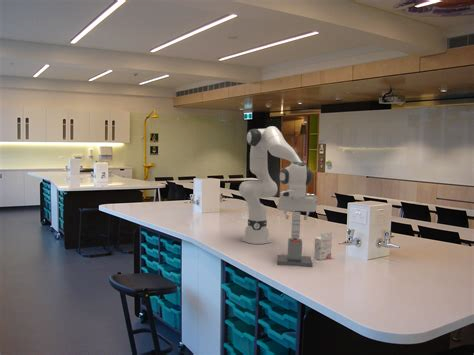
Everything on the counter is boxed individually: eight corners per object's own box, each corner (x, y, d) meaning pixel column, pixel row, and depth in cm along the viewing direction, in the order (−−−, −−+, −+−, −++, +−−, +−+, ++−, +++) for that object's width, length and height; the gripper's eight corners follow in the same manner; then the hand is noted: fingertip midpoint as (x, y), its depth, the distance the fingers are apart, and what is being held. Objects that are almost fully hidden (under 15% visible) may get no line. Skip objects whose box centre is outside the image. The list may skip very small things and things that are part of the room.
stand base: (277, 258, 233) (278, 234, 232) (310, 260, 231) (311, 236, 230) (277, 264, 220) (278, 240, 219) (312, 266, 218) (313, 242, 217)
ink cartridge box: (324, 256, 240) (326, 230, 239) (331, 258, 236) (332, 232, 235) (313, 258, 236) (314, 231, 235) (319, 260, 232) (321, 233, 230)
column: (290, 244, 227) (292, 211, 226) (298, 245, 227) (300, 211, 225) (290, 246, 223) (292, 212, 221) (299, 247, 223) (300, 213, 221)
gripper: (316, 193, 225) (315, 219, 226) (277, 191, 227) (276, 217, 228) (318, 194, 218) (316, 221, 220) (278, 193, 220) (276, 219, 221)
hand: (296, 219), depth 224 cm, fingers open, 8 cm apart
